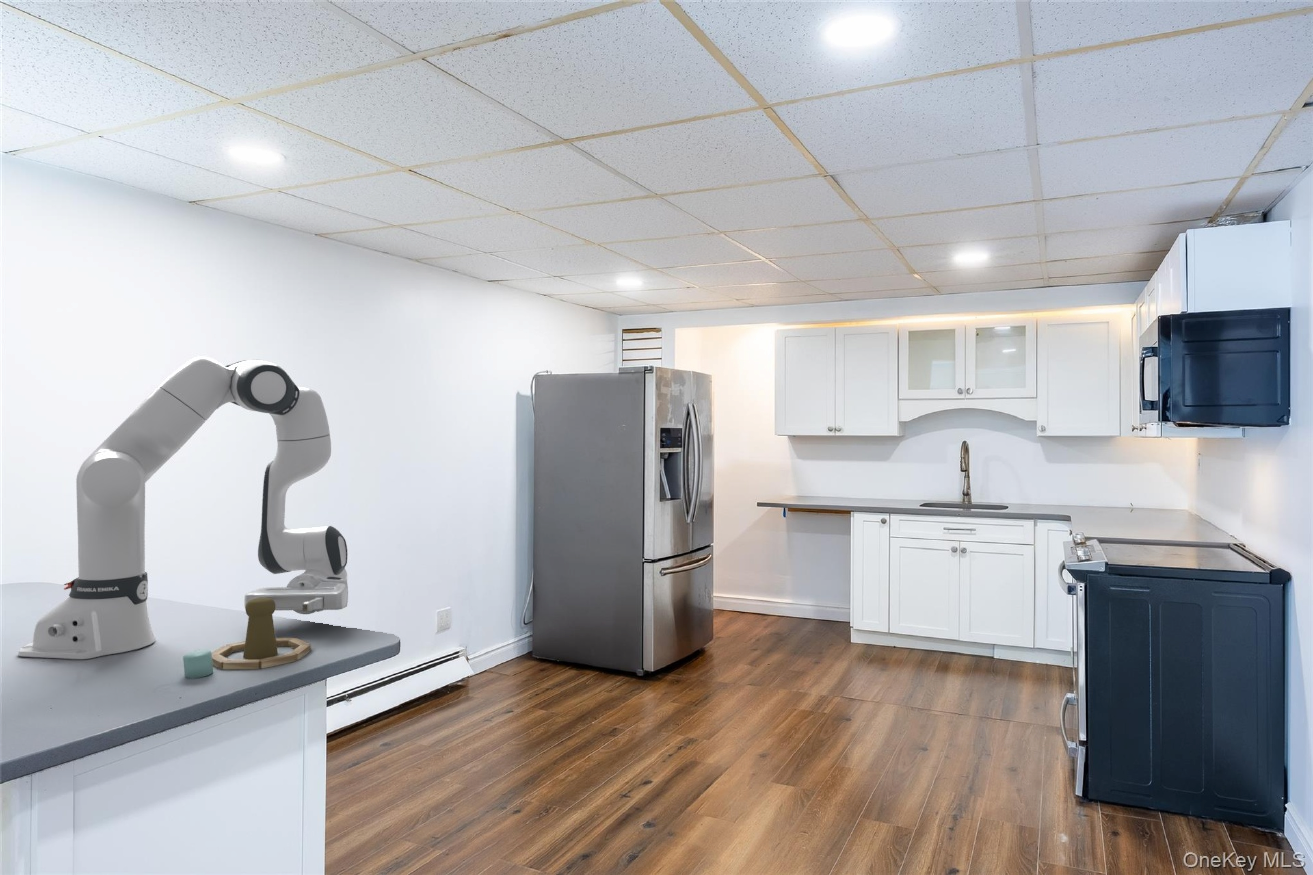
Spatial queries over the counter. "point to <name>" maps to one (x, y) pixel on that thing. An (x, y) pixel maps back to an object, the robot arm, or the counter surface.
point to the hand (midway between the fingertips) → (282, 607)
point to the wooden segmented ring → (225, 663)
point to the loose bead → (198, 664)
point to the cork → (260, 629)
